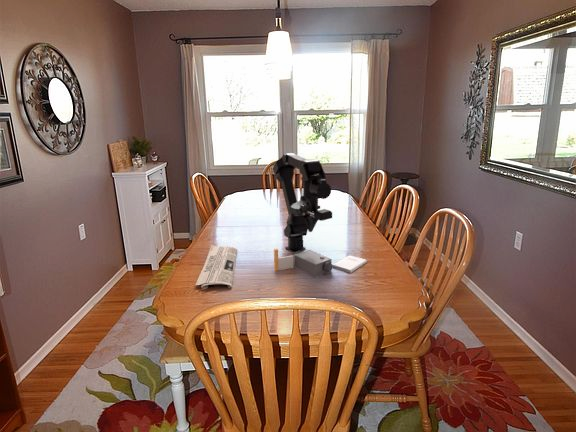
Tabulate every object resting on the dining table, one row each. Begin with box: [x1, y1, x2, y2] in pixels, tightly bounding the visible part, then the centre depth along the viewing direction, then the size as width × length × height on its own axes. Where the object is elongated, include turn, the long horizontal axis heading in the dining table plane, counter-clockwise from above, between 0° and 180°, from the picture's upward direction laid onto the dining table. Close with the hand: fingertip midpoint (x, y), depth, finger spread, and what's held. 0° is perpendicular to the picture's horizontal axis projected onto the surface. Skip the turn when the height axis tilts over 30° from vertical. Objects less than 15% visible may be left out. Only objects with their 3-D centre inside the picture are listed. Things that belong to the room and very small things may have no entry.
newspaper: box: [195, 244, 238, 291], centre depth 145 cm, size 35×12×4 cm, turn 4°
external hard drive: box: [332, 254, 368, 274], centre depth 146 cm, size 2×8×12 cm
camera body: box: [294, 249, 333, 278], centre depth 142 cm, size 14×8×6 cm, turn 38°
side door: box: [273, 247, 296, 272], centre depth 142 cm, size 8×1×8 cm, turn 111°
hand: (310, 231), depth 148 cm, fingers closed
